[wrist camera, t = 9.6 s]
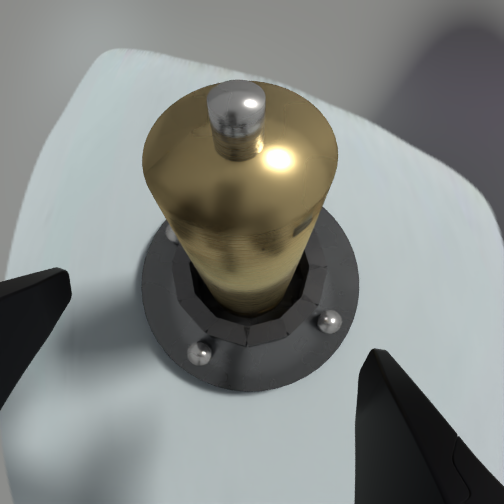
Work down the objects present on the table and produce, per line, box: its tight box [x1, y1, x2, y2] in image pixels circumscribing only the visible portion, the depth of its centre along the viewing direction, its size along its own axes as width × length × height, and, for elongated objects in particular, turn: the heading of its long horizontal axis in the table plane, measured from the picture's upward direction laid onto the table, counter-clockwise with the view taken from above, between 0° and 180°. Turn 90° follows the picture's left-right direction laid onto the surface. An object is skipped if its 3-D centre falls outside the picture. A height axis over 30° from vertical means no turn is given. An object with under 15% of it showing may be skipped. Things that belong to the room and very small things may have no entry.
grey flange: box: [142, 207, 359, 391], centre depth 19 cm, size 14×14×4 cm
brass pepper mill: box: [142, 80, 338, 318], centre depth 13 cm, size 5×5×14 cm
